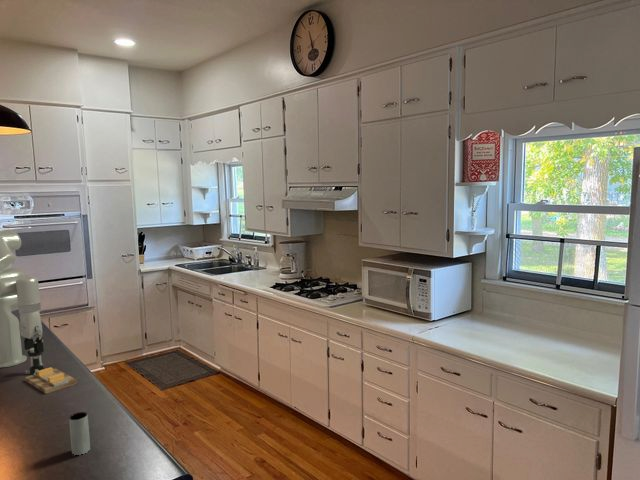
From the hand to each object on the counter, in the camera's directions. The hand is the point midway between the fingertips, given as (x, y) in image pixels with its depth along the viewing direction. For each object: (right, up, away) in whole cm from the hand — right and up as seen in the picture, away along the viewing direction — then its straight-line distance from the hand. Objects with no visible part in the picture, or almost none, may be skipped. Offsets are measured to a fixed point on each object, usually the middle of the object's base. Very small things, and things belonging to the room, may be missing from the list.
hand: (34, 350), depth 186 cm
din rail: (+11, -9, -8) cm, 17 cm away
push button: (0, -10, +2) cm, 10 cm away
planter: (+48, -15, -57) cm, 76 cm away
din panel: (+12, -10, -8) cm, 17 cm away
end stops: (+11, -8, -8) cm, 16 cm away
